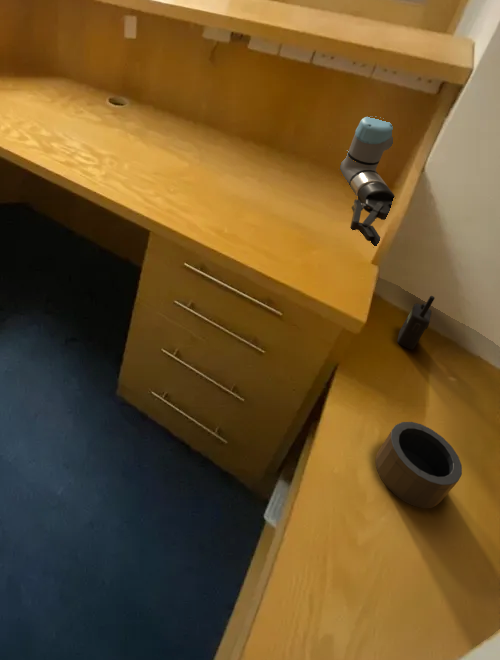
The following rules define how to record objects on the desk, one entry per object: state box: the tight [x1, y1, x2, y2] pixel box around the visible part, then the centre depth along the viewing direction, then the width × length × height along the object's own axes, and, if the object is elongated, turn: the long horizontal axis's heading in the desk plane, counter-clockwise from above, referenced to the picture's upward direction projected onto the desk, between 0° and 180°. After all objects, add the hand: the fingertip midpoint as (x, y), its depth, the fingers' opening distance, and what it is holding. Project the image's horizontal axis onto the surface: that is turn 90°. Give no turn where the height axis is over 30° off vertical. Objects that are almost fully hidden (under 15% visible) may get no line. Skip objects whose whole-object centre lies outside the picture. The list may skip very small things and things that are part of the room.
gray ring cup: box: [375, 421, 463, 509], centre depth 87 cm, size 10×10×8 cm
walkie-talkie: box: [397, 295, 435, 350], centre depth 108 cm, size 5×3×15 cm
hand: (414, 252), depth 111 cm, fingers open, 13 cm apart
